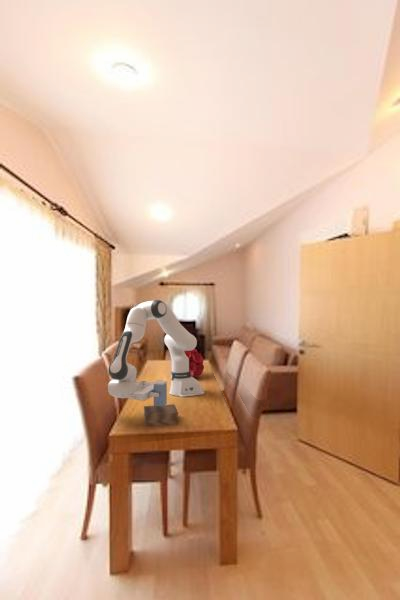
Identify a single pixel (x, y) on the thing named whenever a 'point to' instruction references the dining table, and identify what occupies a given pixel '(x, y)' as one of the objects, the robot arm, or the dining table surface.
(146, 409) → the walnut box
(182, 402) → the dining table surface
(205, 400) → the dining table surface
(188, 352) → the bouquet
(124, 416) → the dining table surface
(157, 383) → the slate tin
